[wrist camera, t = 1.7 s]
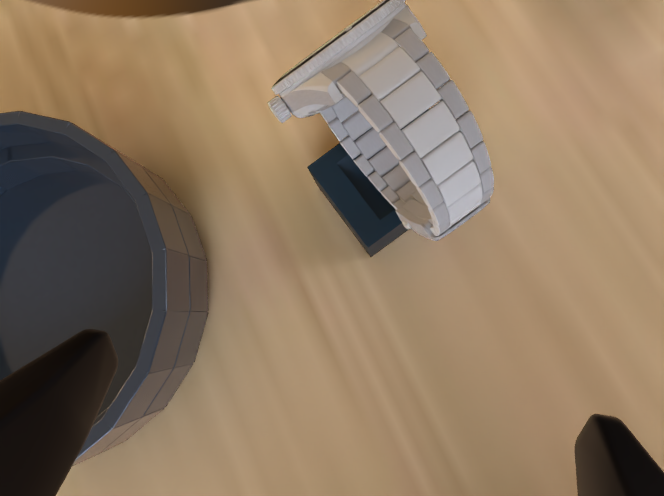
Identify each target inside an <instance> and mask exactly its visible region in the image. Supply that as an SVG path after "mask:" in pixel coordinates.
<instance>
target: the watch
mask: <svg viewBox="0 0 664 496" xmlns="http://www.w3.org/2000/svg"><path fill="white" fill-rule="evenodd" d="M405 1H406V0H383V1H382V2H381V3H379V4H378V5H376V6H375V7H374V8H372V9H371V10H369V11H368V12H367V13H365V14H364V15H363V16H361V17H360V18H359V19H357V20H356V21H355V22H353V23H352V24H350V25H349V26H348V27H346V28H345V29H344V30H342V31H341V32H340V33H338V34H337V35H336V36H334V37H333V38H331V39H330V40H329V41H327V42H326V43H325V44H323V45H322V46H321V47H319V48H318V49H317V50H315V51H314V52H313V53H311V54H310V55H309V56H307V57H306V58H305V59H303V60H302V61H301V62H299V63H298V64H297V65H295V66H294V67H293V68H291V69H290V70H289V71H287V72H286V73H285V74H284V75H283V76H282V77H281V78H280V79H279V80H278V81H277V82H276V83H275V84H274V85H273V87H272V88H271V89H272V90H273V92H274V93H275V95H277V94H279V95H280V96H281V99H280V98H279V97H278V96H276V97H275V98H273V99H272V100H270V101H269V102H268V105H269V107H270V109H271V111H272V112H273V114H274V115H275V116H276V118H277V119H278V120H279V121H280V122H281V123H283V122H284V121H286V120H287V119H289V118H290V117H291V114H290V112H291V113H292V115H295V116H296V117H297V118H304V117H309V116H313V115H315V114H318V113H320V114H321V115H322V117H323V118H324V120H325V121H326V122H327V125H328V126H329V128H330V129H331V131H332V132H333V133H334V135H335V136H336V138H337V139H338V140H339V141H340V143H339V144H338V145H337V146H335V147H334V148H332V149H331V150H330V151H328V152H327V153H326V154H324V155H323V156H322V157H320V158H319V159H318V160H316V161H315V162H314V163H312V164H311V165H309V166H308V169H309V171H310V173H311V175H312V176H313V178H314V180H315V182H316V184H317V185H318V187H319V188H320V190H321V191H322V192H323V194H324V195H325V196H326V198H327V199H328V200H329V202H330V203H331V204H332V206H333V207H334V208H335V210H336V211H337V212H338V214H339V215H340V216H341V218H342V219H343V221H344V222H345V223H346V225H347V226H348V227H349V229H350V230H351V231H352V233H353V234H354V235H355V237H356V238H357V239H358V241H359V242H360V243H361V245H362V246H363V247H364V249H365V250H366V251H367V253H368V254H369V255H370V257H372V256H373V255H375V254H376V253H377V252H379V251H380V250H381V249H383V248H384V247H385V246H387V245H388V244H390V243H391V242H392V241H394V240H395V239H396V238H398V237H399V236H400V235H402V234H403V233H404V232H406V231H407V230H409V229H410V228H411V229H412V230H413V231H415V232H416V233H418V234H419V235H421V236H423V237H425V238H427V239H430V240H435V241H438V240H440V239H441V238H443V237H444V236H446V235H447V234H449V233H450V232H452V231H453V230H455V229H456V228H458V227H459V226H460V225H462V224H463V223H465V222H466V221H467V220H469V219H470V218H471V217H473V216H474V215H475V214H477V213H478V212H479V211H480V210H482V209H483V208H484V207H485V206H486V205H488V204H489V203H490V196H491V195H492V194H493V190H494V187H493V186H494V177H493V170H492V168H491V162H490V158H489V155H488V151H487V148H486V146H485V143H484V142H483V141H482V140H483V136H482V134H481V131H480V129H479V127H478V124H477V122H476V120H475V118H474V116H473V114H472V112H471V111H468V109H469V108H468V106H467V104H466V102H465V100H464V98H463V96H462V95H461V93H460V91H459V90H458V88H457V86H456V85H455V83H454V82H453V80H450V77H449V75H448V74H447V72H446V71H445V69H444V68H443V66H442V65H441V64H440V62H439V61H438V60H437V58H436V57H435V56H434V54H433V53H432V52H429V50H428V48H427V47H426V45H425V44H424V43H423V42H422V41H421V40H422V39H424V38H425V37H426V36H427V35H426V33H425V31H424V29H423V28H422V26H421V24H420V22H419V21H418V20H417V18H416V17H415V15H414V14H413V13H412V12H411V10H410V9H409V7H408V6H407V5H406V4H405V3H404V2H405ZM449 80H450V81H449ZM448 81H449V82H448ZM445 83H446V84H445ZM444 84H445V85H444ZM442 85H443V86H442ZM441 86H442V87H441ZM440 87H441V88H440ZM438 88H439V89H438ZM437 89H438V90H437ZM438 101H440V102H439V103H437V102H438ZM436 103H437V104H436ZM434 104H436V105H435V106H433V105H434ZM432 106H433V107H432ZM430 107H432V108H431V109H429V108H430ZM356 111H357V112H356ZM465 112H466V113H465ZM458 117H459V118H458ZM455 119H456V120H455ZM345 137H346V138H345ZM341 140H342V141H341Z"/></svg>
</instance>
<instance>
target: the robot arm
mask: <svg viewBox="0 0 664 496" xmlns="http://www.w3.org/2000/svg"><path fill="white" fill-rule="evenodd" d="M117 366H118V357H117V354H116V352H115V349H114V346H113V344H112V341H111V338H110V336H109V334H108V333H107V332H105V331H100V330H94V329H85V330H83V331H81V332H79V333H77V334H76V335H74V336H72V337H71V338H69V339H68V340H66V341H64V342H63V343H61V344H59V345H58V346H56V347H54V348H53V349H51V350H49V351H48V352H46V353H45V354H43V355H41V356H40V357H38V358H36V359H35V360H33V361H31V362H30V363H28V364H27V365H25V366H23V367H22V368H20V369H18V370H17V371H15V372H13V373H12V374H10V375H9V376H7V377H5V378H4V379H2V380H0V496H56V494H57V492H58V490H59V488H60V487H61V485H62V483H63V481H64V479H65V478H66V476H67V474H68V472H69V470H70V469H71V467H72V465H73V463H74V462H75V460H76V458H77V456H78V454H79V453H80V451H81V449H82V447H83V445H84V443H85V441H86V439H87V437H88V435H89V433H90V430H91V428H92V426H93V424H94V421H95V419H96V417H97V414H98V412H99V410H100V407H101V405H102V403H103V400H104V398H105V396H106V393H107V391H108V389H109V386H110V384H111V382H112V380H113V377H114V375H115V373H116V370H117ZM575 463H576V476H577V489H578V496H664V472H663V471H662V470H661V468H660V467H659V466H658V465H657V463H656V462H655V461H654V460H653V458H652V457H651V456H650V455H649V454H648V452H647V451H646V450H645V449H644V447H643V446H642V445H641V444H640V442H639V441H638V440H637V439H636V437H635V436H634V435H633V434H632V433H631V431H630V430H629V429H628V428H627V426H626V425H625V424H624V423H623V422H622V421H621V420H620V419H618V418H616V417H612V416H606V415H600V414H594V415H592V416H590V418H589V419H588V421H587V422H586V424H585V426H584V427H583V429H582V431H581V432H580V434H579V436H578V437H577V440H576V443H575Z"/></svg>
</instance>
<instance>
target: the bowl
mask: <svg viewBox="0 0 664 496" xmlns="http://www.w3.org/2000/svg"><path fill="white" fill-rule="evenodd" d="M206 261H207V258H206V255H205V253H204V250H203V247H202V244H201V241H200V238H199V235H198V232H197V230H196V227H195V224H194V221H193V218H192V216H191V215H190V213H189V212H188V210H187V209H186V208H185V206H184V205H183V204H182V203H181V201H180V200H179V199H178V198H177V196H176V195H175V194H174V192H173V191H172V190H171V189H170V187H169V186H168V185H167V183H166V182H165V181H164V180H163V179H162V178H161V177H159V176H158V175H156V174H154V173H153V172H151V171H150V170H148V169H146V168H145V167H143V166H142V165H140V164H139V163H137V162H135V161H134V160H132V159H131V158H129V157H128V156H126V155H124V154H123V153H121V152H119V151H118V150H116V149H114V148H113V147H111V146H110V145H108V144H106V143H105V142H103V141H101V140H100V139H98V138H96V137H95V136H93V135H92V134H90V133H88V132H87V131H85V130H83V129H82V128H80V127H78V126H77V125H75V124H73V123H71V122H69V121H64V120H60V119H55V118H51V117H46V116H42V115H37V114H32V113H28V112H23V111H15V112H6V113H0V380H2V379H4V378H5V377H7V376H9V375H10V374H12V373H13V372H15V371H17V370H18V369H20V368H22V367H23V366H25V365H27V364H28V363H30V362H31V361H33V360H35V359H36V358H38V357H40V356H41V355H43V354H45V353H46V352H48V351H49V350H51V349H53V348H54V347H56V346H58V345H59V344H61V343H63V342H64V341H66V340H68V339H69V338H71V337H72V336H74V335H76V334H77V333H79V332H81V331H83V330H85V329H94V330H100V331H105V332H107V333H108V334H109V336H110V338H111V341H112V344H113V346H114V349H115V352H116V354H117V357H118V366H117V370H116V373H115V375H114V377H113V380H112V382H111V384H110V386H109V389H108V391H107V393H106V396H105V398H104V400H103V403H102V405H101V407H100V410H99V412H98V414H97V417H96V419H95V421H94V424H93V426H92V428H91V430H90V433H89V435H88V437H87V439H86V441H85V443H84V445H83V447H82V449H81V451H80V453H79V454H78V456H77V458H76V460H75V462H74V463H73V465H72V466H74V465H76V464H78V463H80V462H83V461H85V460H87V459H89V458H91V457H93V456H95V455H97V454H99V453H102V452H104V451H106V450H108V449H110V448H112V447H114V446H116V445H119V444H121V443H123V442H124V441H126V440H128V439H129V438H130V437H131V436H132V435H134V434H135V433H136V432H137V431H138V430H139V429H141V428H142V427H143V426H144V425H145V424H147V423H148V422H149V421H150V420H151V419H153V418H154V417H155V416H156V415H157V414H159V413H160V412H161V411H162V410H163V409H164V408H165V407H166V406H167V404H168V403H169V401H170V400H171V398H172V397H173V395H174V393H175V392H176V390H177V389H178V387H179V386H180V384H181V383H182V381H183V379H184V378H185V376H186V375H187V373H188V372H189V370H190V369H191V367H192V365H193V363H194V362H195V359H196V355H197V352H198V348H199V345H200V341H201V338H202V334H203V331H204V327H205V323H206V320H207V316H208V275H207V262H206Z"/></svg>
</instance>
